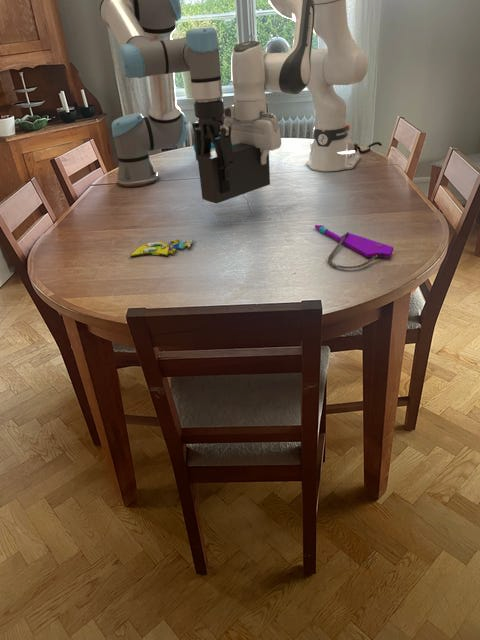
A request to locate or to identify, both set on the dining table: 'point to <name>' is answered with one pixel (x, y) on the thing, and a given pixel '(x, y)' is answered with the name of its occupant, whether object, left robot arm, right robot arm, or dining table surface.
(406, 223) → the dining table surface
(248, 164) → the box
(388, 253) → the musical instrument
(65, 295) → the dining table surface
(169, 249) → the toy
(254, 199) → the dining table surface
